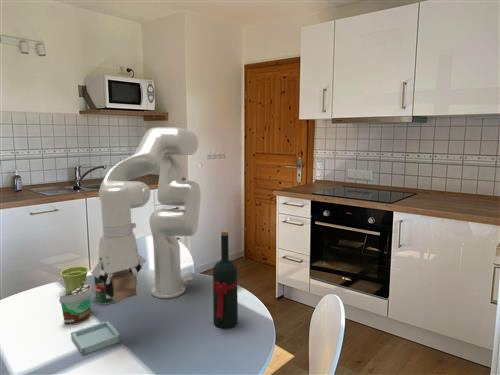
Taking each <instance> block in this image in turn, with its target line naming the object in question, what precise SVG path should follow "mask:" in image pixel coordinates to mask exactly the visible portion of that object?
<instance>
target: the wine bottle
mask: <svg viewBox="0 0 500 375" xmlns="http://www.w3.org/2000/svg"><path fill="white" fill-rule="evenodd" d="M220 233H221V235H220V240H221V242H220V250H221V253H220V255H221V259H220V260H219V261H217V262H216V263H215V265H214V266H213V269H212V296H213V297H212V298H213V300H212V301H213V304H212V307H213V308H212V311H213V314H212V315H213V316H212V318H213V322H212V323H213V324H212V325H214V326H215V328H217V329H221V330H229V329H232V328H233V329H234V328H235V327H236V326H237V325H238V323H239V322H238V321H239V319H238V318H239V314H238V313H239V312H238V311H239V310H238V309H239V308H238V306H239V305H238V304H239V302H238V300H239V299H238V298H239V297H238V296H239V295H238V267H237V265H236V264H235V263H234V262H233V261H231V260H229V234H228V233H229V230H223V229H222V231H221V232H220Z"/></svg>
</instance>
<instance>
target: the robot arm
mask: <svg viewBox="0 0 500 375" xmlns="http://www.w3.org/2000/svg"><path fill="white" fill-rule="evenodd" d="M198 148H199V139H198V136H197V135H196V133H195V132H193V131H191V130H188V129H186V128H182V127H177V126H176V127H174V126H173V127H171V126H169V127H166V126H165V127H164V126H163V127H159V126H157V127H156V126H155V127H152V128H149V129H148V130H147V131H146V132H145V133H144V135H143V137H142V139H141V141H140V142H139V144H138V146H137V147H136V150H135V151H134V153H133V154H132V155H130V156H128V157H126V158H125V159H123V160H121V161H120V162H119V163H116V164H115V165H113V166H112V167H111V168H110V169H109V170H108V172H107V173H106V175H105V177H104V178H103V180H102V182H101V184H100V186H99V190H98V197H99V200H100V207H101V219H102V220H101V221H102V235H101V236H100V237H99V242H98V255H97V257H98V261H97V264H96V266H95V267H94V268H93V269H92V270H91V275H92V276H95V277H97V278H98V279H100V280H101V281H103V282H104V287H105V293H106V294H107V295H108V296H110V297H113V284H112V283H111V279H112V275H113V273H116V272H119V271H123V270H128V271H130V272H132V273H133V274H135V275H136V277H137V276H138V275H139V272H140V271H141V269H142V267H143V265H144V264H145V263H146V262H147V260H146V258H144V257H143V256H142V255H140V253H139V249H138V243H137V239H136V234H135V232H133V229H136V227H137V224H136V223H135V222H134V223H133V222H132V211H131V210H132V209H137V208H141V207H144V206H145V205H147V203H148V202H149V200H150V197H151V189H150V187H149V185H148V184H146V183H145V182H142V181H135V180H134V181H133V179H136V178H140V177H143V176H146V175H149V174H151V173H154V172H155V171H157V170H158V168H159V177H158V183H157V184H158V186H157V195H156V196H157V197H156V198H157V201H158V203H159V204H161V205H163V206H169V207H172V206H173V207H185V208H184V209H177V208H176V209H175V208H160V209H159V208H158V209H156V210H154V211H153V212H151V214H150V216H149V220H148V221H149V228H150V231H151V235H152V236H151V237H152V244H153V246H152V247H153V263H154V264H153V266H154V286H153V287H151V290H150V294H151V295H152V296H153V297H155V298H159V299H171V298H177V297H178V296H180V295H183V294H184V293H185V292H186V286H185V284H186V283H191V282H192V281H193V276H191V275H190V276H187V275H183V276H182V274H181V273H182V272H181V271H182V270H181V247H180V246H181V245H180V243H179V241H178V238H177V237H192V236H194V235H195V234H196V233H197V231H198V227H199V218H200V210H201V195H202V194H201V187H200V185H199V184H198V182H197V181H195V180H183V176H184V174H183V173H184V168H183V165H182V163H181V162H180V160H179V159H178V158H177V156H190V155H191V156H192V155H194V154H195V153H196V152H197V151H198ZM130 180H131V181H130ZM100 270H104V275H101V274H100V273H99V272H100ZM186 276H187V277H186ZM137 282H138V280H137V279H136V286H137V284H138V283H137Z"/></svg>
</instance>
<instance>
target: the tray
mask: <svg viewBox="0 0 500 375" xmlns="http://www.w3.org/2000/svg"><path fill="white" fill-rule="evenodd" d="M121 336H122V335H121V333H119V332H118V331H117V329H116V328H115V327H114V326H113V325H112V324H111V323H110V321H108V320H106V321H102V322H99V323H97V324H93V325H90V326H87V327H85V328H81V329H78V330H75V331H72V332H70V337H71V338H70V339H71V340H72V341H73V343H74V344H75V347H76V348H77V349H78V351H79V353H80V354H81V355H82V356H85V355H88V354H90V353H93V352H95V351H99V350H102V349H104V348H107V347H109V346H112V345H115V344H118V343H121V342H122V341H121V340H122V339H121V338H122V337H121Z"/></svg>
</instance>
